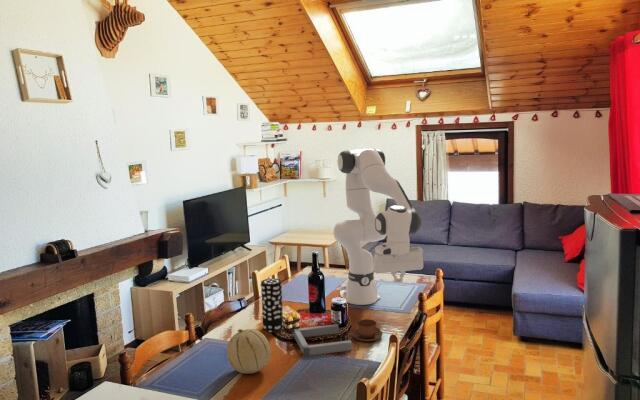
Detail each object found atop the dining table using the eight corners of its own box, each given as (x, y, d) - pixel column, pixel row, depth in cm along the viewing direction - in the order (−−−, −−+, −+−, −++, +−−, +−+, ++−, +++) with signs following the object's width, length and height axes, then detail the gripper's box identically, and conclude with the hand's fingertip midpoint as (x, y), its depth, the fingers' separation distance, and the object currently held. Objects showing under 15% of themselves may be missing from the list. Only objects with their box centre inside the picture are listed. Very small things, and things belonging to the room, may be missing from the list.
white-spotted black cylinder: (280, 332, 213) (278, 284, 210) (260, 331, 214) (258, 284, 212) (285, 325, 221) (283, 278, 218) (266, 324, 222) (264, 278, 220)
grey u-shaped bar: (293, 336, 209) (293, 329, 208) (337, 331, 213) (337, 324, 212) (304, 356, 190) (304, 348, 190) (351, 350, 195) (351, 342, 194)
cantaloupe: (273, 378, 174) (272, 335, 172) (228, 384, 171) (226, 340, 169) (268, 359, 188) (266, 319, 186) (226, 364, 185) (224, 323, 183)
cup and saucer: (385, 333, 210) (385, 318, 209) (378, 345, 198) (378, 330, 198) (356, 330, 214) (356, 316, 213) (348, 342, 202) (347, 326, 202)
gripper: (419, 243, 210) (419, 277, 212) (370, 247, 205) (371, 282, 207) (426, 247, 204) (426, 281, 206) (376, 251, 199) (376, 286, 201)
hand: (398, 282), depth 206 cm, fingers closed
